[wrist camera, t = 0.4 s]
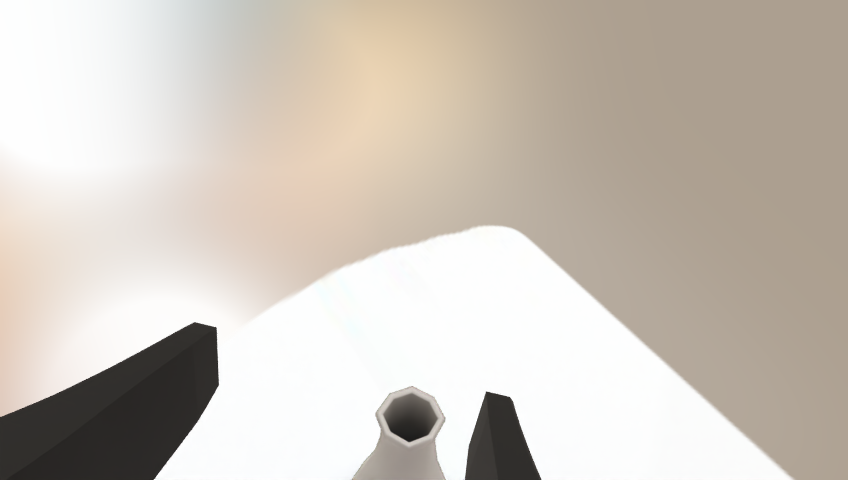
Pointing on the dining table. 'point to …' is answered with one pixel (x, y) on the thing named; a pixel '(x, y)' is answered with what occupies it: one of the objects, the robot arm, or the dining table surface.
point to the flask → (405, 439)
